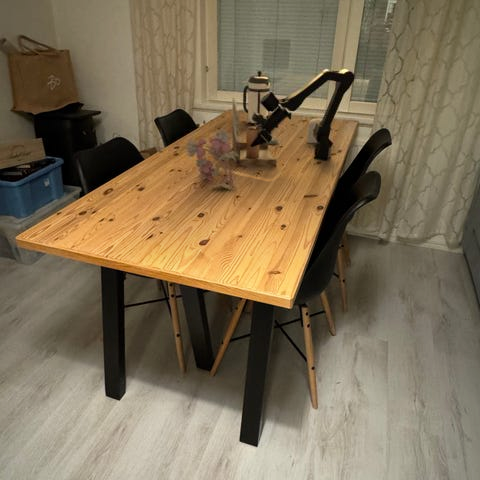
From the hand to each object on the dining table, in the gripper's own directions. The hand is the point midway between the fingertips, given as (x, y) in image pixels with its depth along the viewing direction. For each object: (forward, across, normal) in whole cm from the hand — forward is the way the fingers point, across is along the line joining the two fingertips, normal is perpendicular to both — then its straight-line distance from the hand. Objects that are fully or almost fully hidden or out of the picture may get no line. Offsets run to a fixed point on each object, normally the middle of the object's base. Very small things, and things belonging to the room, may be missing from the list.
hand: (250, 143), depth 183 cm
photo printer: (-22, -25, +32) cm, 46 cm away
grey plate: (-3, -26, +13) cm, 29 cm away
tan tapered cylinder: (+3, 0, +5) cm, 6 cm away
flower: (+18, +30, -8) cm, 36 cm away
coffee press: (-2, -65, +12) cm, 66 cm away
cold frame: (+4, 0, +6) cm, 7 cm away
